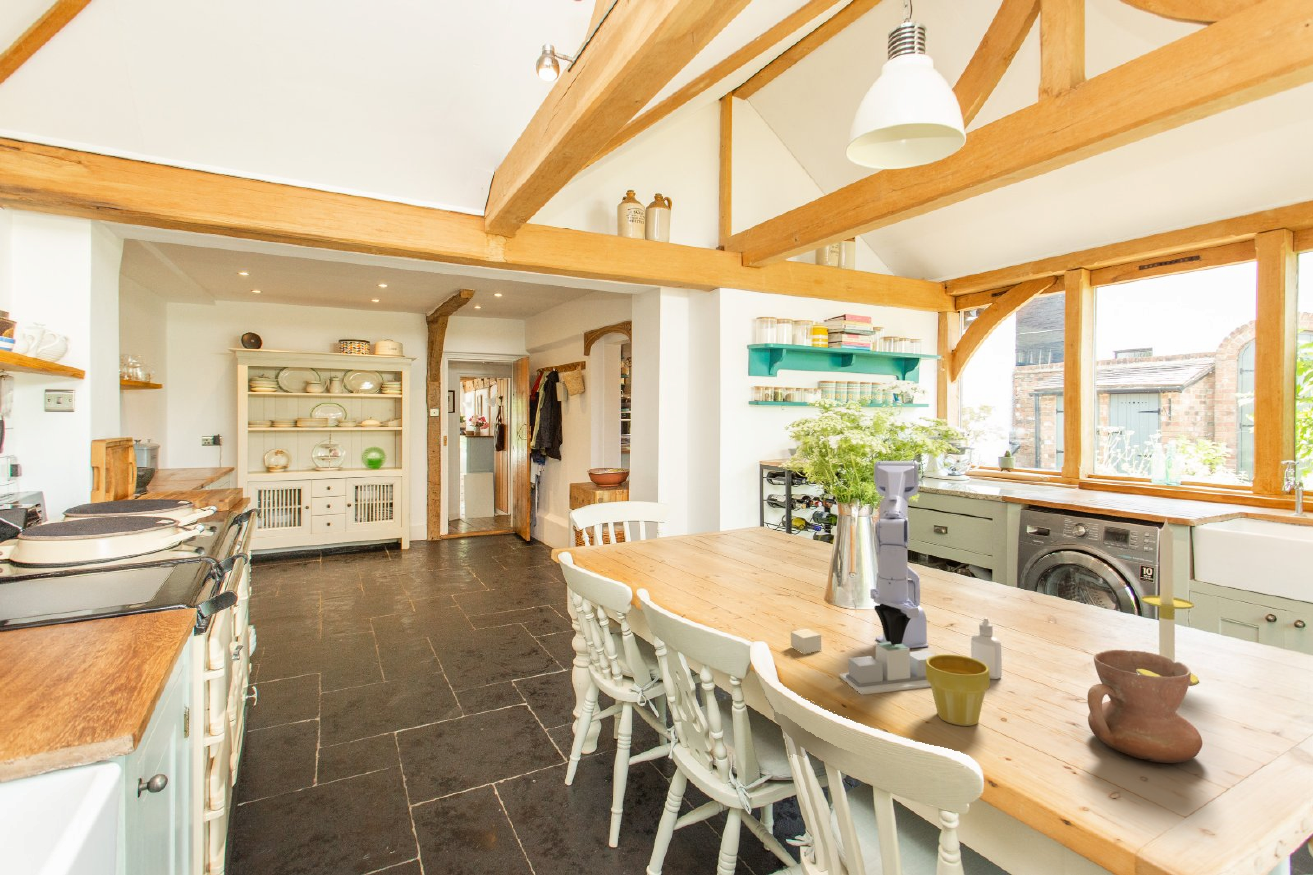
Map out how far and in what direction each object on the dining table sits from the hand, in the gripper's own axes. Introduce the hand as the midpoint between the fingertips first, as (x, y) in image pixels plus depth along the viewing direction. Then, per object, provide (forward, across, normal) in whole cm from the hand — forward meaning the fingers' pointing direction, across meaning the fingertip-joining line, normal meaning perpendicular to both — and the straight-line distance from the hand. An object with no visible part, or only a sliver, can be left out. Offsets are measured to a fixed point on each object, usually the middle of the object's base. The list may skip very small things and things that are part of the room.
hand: (893, 642), depth 128 cm
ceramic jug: (+8, +33, +23) cm, 41 cm away
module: (+7, 0, 0) cm, 7 cm away
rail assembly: (+8, 0, 0) cm, 8 cm away
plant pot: (+8, +17, +2) cm, 19 cm away
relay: (+8, -21, -10) cm, 25 cm away
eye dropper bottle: (+8, +2, +20) cm, 22 cm away
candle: (+8, +11, +55) cm, 57 cm away
